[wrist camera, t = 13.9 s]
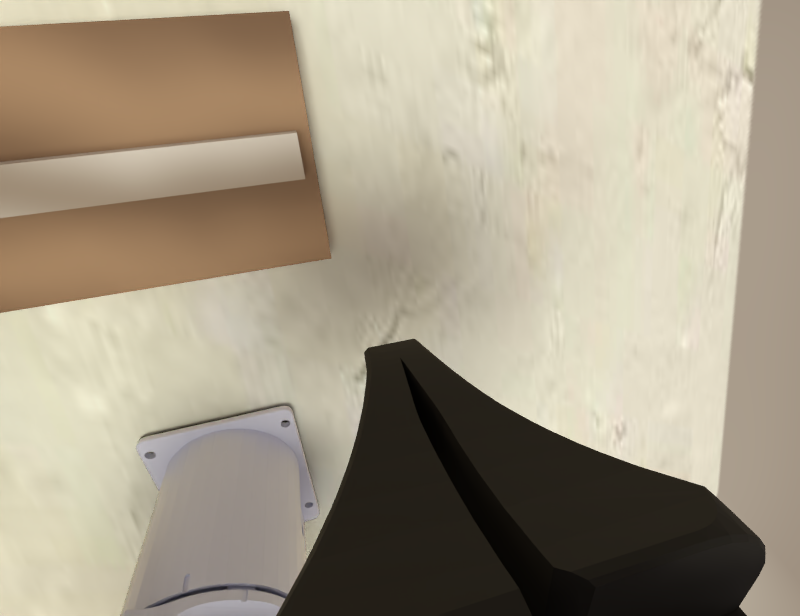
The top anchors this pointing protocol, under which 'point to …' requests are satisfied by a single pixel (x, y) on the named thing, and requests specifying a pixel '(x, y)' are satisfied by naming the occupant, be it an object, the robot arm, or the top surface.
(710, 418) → the top surface
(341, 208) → the top surface
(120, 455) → the top surface
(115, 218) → the rail track
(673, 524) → the robot arm
